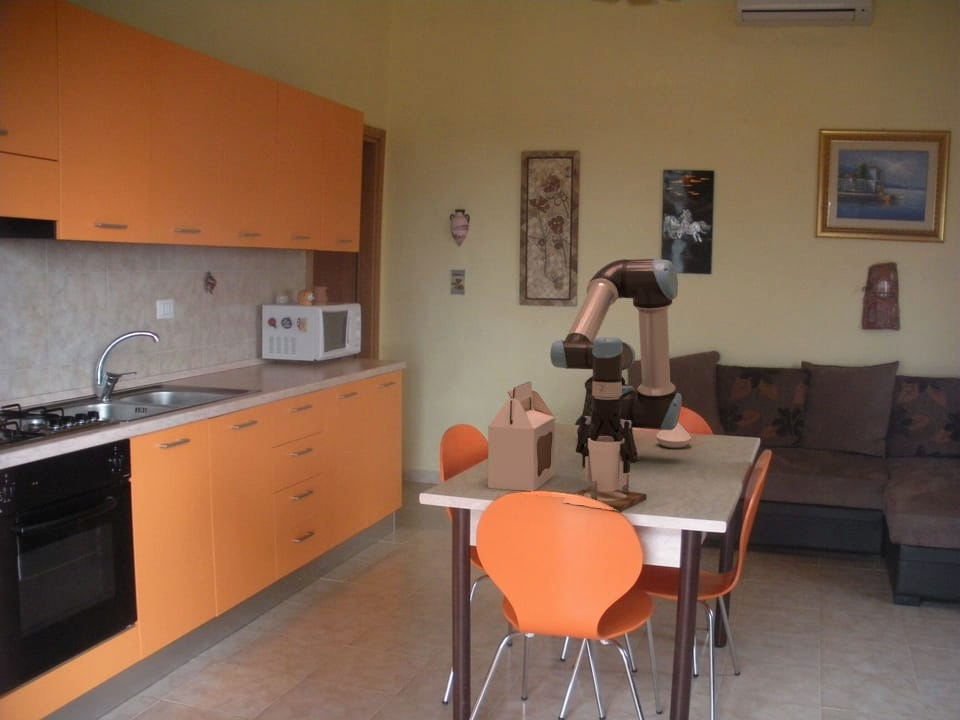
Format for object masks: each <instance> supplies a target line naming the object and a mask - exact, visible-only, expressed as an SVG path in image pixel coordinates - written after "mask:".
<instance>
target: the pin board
mask: <svg viewBox="0 0 960 720" xmlns="http://www.w3.org/2000/svg"><path fill="white" fill-rule="evenodd" d="M629 481H630V474H629V473H627V484H626V485H624V486H622V489H617V490H615V491H598V490H597V481H592V480H590V486H589V487H586V488H584V489H580V490H578V491H576V492H574V493H572V494H578V495H582V496H586V497H590V498H592V499H595V500H598V501H601V502H603V503H605V504H607V505H609V506H611V507H613V508H614V509H616V510H618V511H619V512H618V513H621V512H624V511H626V510H627V509H629V508H631V507H634V506H636V505H638V504H640V503H642V502H644V501H647V493H642V492H636V491H630V490H629V487H630V486H629V485H630V484H629V483H630V482H629Z"/></svg>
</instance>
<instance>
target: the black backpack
mask: <svg viewBox="0 0 960 720" xmlns="http://www.w3.org/2000/svg"><path fill="white" fill-rule="evenodd" d="M622 386H630V385H629V384H626V379H625V378H624V377H623V376H622ZM584 388H585V397H584V403H583V411H582V415H581V418H582V417H584V416H589V417H591V416H592V414H593V412H592V399H593V398H594V397H595V396H593V395H592V388H593V375H592V376H590V377H589V378H588V379H587V380H585V382H584ZM581 426H582V425H581V421H580V423H579V426H578V428H577V431H576V433H577V439H578V438H579V434H580V430H581ZM593 428H594V424H593V423H592V421H591V424H590V427H589V431H588V435H587V439H586V443H585V445H586V444H587V442H588V438H590V436H591V434H592V430H593Z"/></svg>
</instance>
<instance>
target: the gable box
mask: <svg viewBox="0 0 960 720" xmlns="http://www.w3.org/2000/svg"><path fill="white" fill-rule="evenodd" d="M507 393H508V395H509V398H508V399H507V400H506V401H505V402H504V403H503V405H502V406H501V408H500V409H499V410H498V412H497V414H496V415H495V416H494V418H493V420H492V421H491V423H490V424H489V425H488V426H487V427H488V430H487V440H488V441H487V442H488V443H487V488H488V489H496V490H506V491H507V490H508V491H518V490H535V491H536V490H537V489H539V488H540V487H541V486H542V485H544V484H545V483H546V482H548V481H549V480H551V478H553V477H554V476H555V441H556V440H555V435H556V434H555V429H556V428H555V424H556V423H555V422H556V421H555V419H556V416H554V415H553V414H552V411H551V410H550V409H549V407H548V406H547V405H546V403H545V401H544V400H543V398H542V397H541V395H540V394H539V393H538V392H537V391H535V390H533V384H532V381H527V382H525V383H522V384H520V385H517V386H515V387H513V389H511V390H509V391H507Z"/></svg>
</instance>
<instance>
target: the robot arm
mask: <svg viewBox="0 0 960 720" xmlns="http://www.w3.org/2000/svg"><path fill="white" fill-rule="evenodd" d="M678 287H679V279H678V274H677V270H676V267H675V265H674V263H673V262H672V261H671V260H670V259H669V260H668V259H658V258H642V259H640V258H639V259H638V258H637V259H623V258H622V259H617V260H615V261H612V262H610V263H607V264H606V265H605V266H603V267H602V268H600V269H599V270H598V271H597V272H596V273H595V274H594V275H593V276H592V277H591V279H590V280H589V282H588V284H587V286H586V297H585V298H584V300H583V302H582V305H581V306H580V307H579V308H580V309H579V310H578V312H577V315H576V317H575V319H574V321H573V323H572V325H571V327H570V329H569V331H568V333H567V335H566V337H565V338H564V339H565V340H563V339H560V340H555V341H553V342H552V344H551V347H550V361H551V365H553V367H555V368H560V369H566V370H568V369H569V370H570V369H571V370H572V369H573V370H592V376H593V388H592V395H593V396H595V397H594V398H593V399H592V412H593V414H592V416H591V417H589V416H584V417H582V416H581V417H580V418H581V419H580V422H581V425H582V426H581V430H580V434H579V438H578V437H577V443H576V447H575V452H576V453H578V454H580V455H581V456H582V464H581V465H582V469H583V468H584V482H591V481H592V473H591V465H590V456H589V449H588V442H587V444H586V439H587V435H588V431H589V427H590V424H591V421H592V423H593V424H594V428H593V430H592V434H591V436H590V438H591V440H592V441H597V439H598V437H599V436H612V437H613V439H614V441H615V442H620V441H623V439H624V443H622V444H620V451H619V452H620V455H621V457H622V460H621V461H620V475H619V482H618V486H619V487H623V486H624V485H626V484H627V474H629V473H630V471H631V463H634V462H636V461H638V459H639V458H638V456H639V453H638V448H637V447H636V443H635V439H634V431H633V428H634V429H643V430H644V429H645V430H656V431H657V430H659V431H660V430H673V429H674V428H675V427H676V425H677V423H678V422H679V420H680V416H681V411H682V406H683V405H682V404H683V402H682V401H683V397H682V394H681V393H679V392H676V385H675V384H673V383H672V382H671V377H670V376H671V372H670V371H671V368H670V343H669V342H670V341H669V318H668V317H669V316H668V314H669V313H668V312H669V311H668V309H669V307H671V306H672V304H673V301H674V300H675V299H676V298H677V297H678V293H679V292H678V290H679V288H678ZM618 299H632V306H633V307H634V308H635V309H637V311H638V327H639V329H638V330H639V348H640V366H641V367H640V368H641V370H640V371H641V383H640V385H639V386H638V387H637V390H635V388H634V386H632V385H629V386H622V377H623V376H622V375H623V371H625V370H627V369H629V368H630V367H631V366H632V365H633V363H634V362H635V359H636V352H635V349H634V347H633V346H632V345H631V344H630V343H628V342H625V341H623V340H622V339H621V338H619V337H597V336H598V333H599V331H600V329H601V327H602V324H603V323H604V320H605V318H606V316H607V314H608V312H609V309H610V307H611V306H612V305H614V304H615V303H616V301H617V300H618Z"/></svg>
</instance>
